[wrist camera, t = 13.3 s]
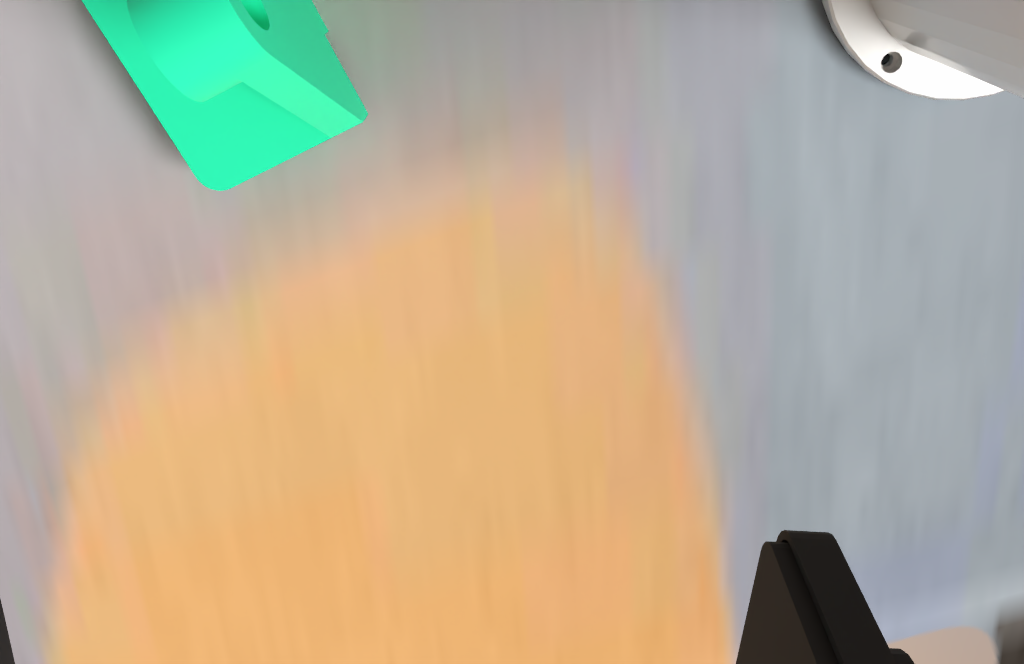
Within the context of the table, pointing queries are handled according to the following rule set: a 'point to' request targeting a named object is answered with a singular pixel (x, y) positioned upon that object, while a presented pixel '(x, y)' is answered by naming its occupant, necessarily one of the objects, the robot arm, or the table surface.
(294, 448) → the table surface
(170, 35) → the camera mount
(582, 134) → the table surface
